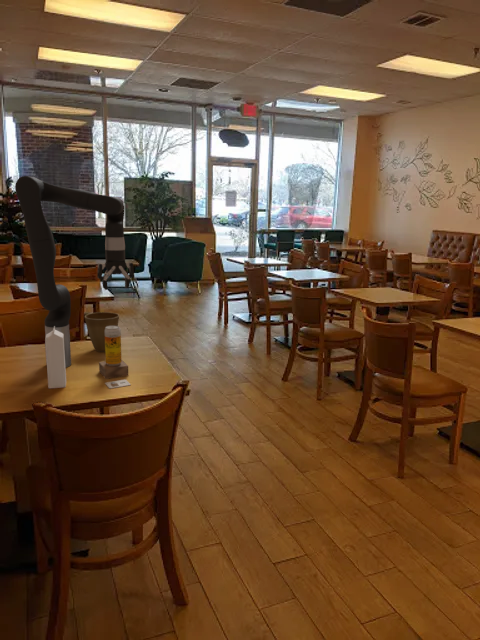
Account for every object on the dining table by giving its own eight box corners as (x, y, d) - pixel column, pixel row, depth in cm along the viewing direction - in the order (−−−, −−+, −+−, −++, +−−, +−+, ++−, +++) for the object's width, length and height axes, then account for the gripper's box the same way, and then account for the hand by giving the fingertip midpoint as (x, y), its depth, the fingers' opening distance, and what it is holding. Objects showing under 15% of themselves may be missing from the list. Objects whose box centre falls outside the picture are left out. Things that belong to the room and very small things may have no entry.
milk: (48, 388, 183) (44, 330, 178) (49, 382, 189) (45, 325, 183) (66, 387, 185) (62, 329, 180) (66, 381, 191) (63, 325, 185)
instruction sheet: (109, 388, 185) (109, 387, 185) (105, 383, 190) (105, 382, 190) (130, 385, 189) (130, 384, 189) (125, 380, 194) (125, 379, 194)
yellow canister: (107, 367, 196) (106, 329, 192) (104, 362, 201) (102, 326, 197) (123, 365, 198) (122, 328, 195) (119, 360, 204) (118, 324, 200)
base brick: (105, 378, 194) (105, 369, 193) (99, 371, 202) (99, 362, 201) (128, 375, 199) (128, 365, 198) (121, 368, 206) (121, 359, 205)
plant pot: (126, 349, 231) (125, 315, 227) (98, 356, 220) (97, 321, 216) (107, 342, 241) (106, 310, 237) (79, 349, 230) (78, 314, 226)
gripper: (129, 247, 206) (130, 286, 210) (94, 247, 199) (96, 288, 203) (135, 249, 200) (136, 289, 204) (99, 250, 193) (101, 291, 197)
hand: (116, 288), depth 203 cm, fingers open, 8 cm apart
